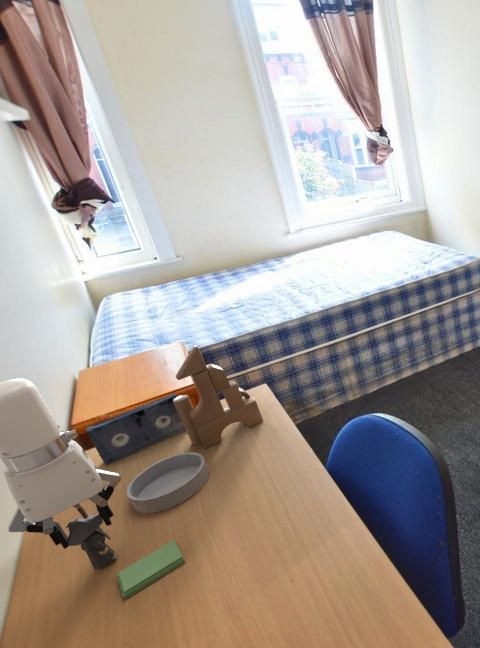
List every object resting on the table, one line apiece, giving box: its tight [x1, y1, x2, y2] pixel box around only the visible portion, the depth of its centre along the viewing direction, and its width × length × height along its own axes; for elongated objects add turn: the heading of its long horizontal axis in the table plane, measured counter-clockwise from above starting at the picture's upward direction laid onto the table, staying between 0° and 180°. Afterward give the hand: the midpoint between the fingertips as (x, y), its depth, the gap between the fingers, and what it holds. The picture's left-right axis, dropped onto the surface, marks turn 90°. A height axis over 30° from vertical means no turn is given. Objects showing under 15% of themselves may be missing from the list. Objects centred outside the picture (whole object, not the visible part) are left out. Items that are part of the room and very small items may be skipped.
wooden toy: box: [173, 344, 264, 449], centre depth 115 cm, size 16×7×25 cm, turn 136°
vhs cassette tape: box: [85, 392, 186, 466], centre depth 116 cm, size 18×3×10 cm, turn 133°
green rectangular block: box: [116, 539, 186, 600], centre depth 83 cm, size 9×6×1 cm, turn 137°
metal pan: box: [125, 452, 210, 514], centre depth 102 cm, size 14×14×4 cm
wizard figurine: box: [65, 503, 117, 570], centre depth 83 cm, size 8×6×12 cm
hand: (87, 531), depth 83 cm, fingers closed on wizard figurine, 5 cm apart
